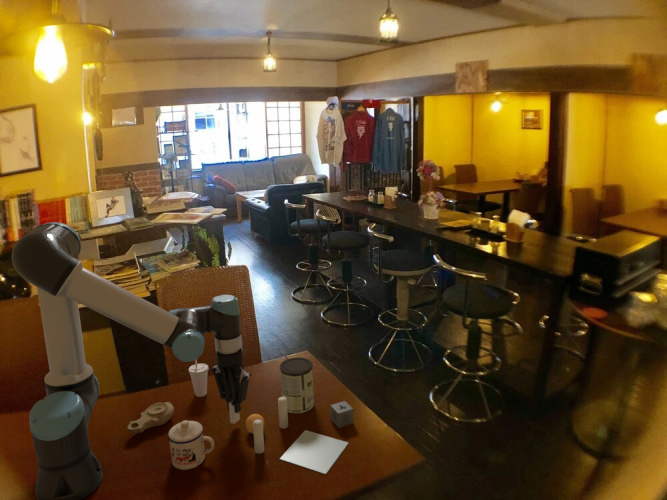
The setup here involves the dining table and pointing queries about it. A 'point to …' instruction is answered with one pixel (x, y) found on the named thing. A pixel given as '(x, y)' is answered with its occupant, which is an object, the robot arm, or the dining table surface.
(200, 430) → the teacup with lid
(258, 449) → the post
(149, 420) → the oil lamp
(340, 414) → the dice cube
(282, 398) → the post
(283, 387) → the coffee can
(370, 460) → the dining table surface
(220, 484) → the dining table surface
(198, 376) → the smoothie
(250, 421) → the ball
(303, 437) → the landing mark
